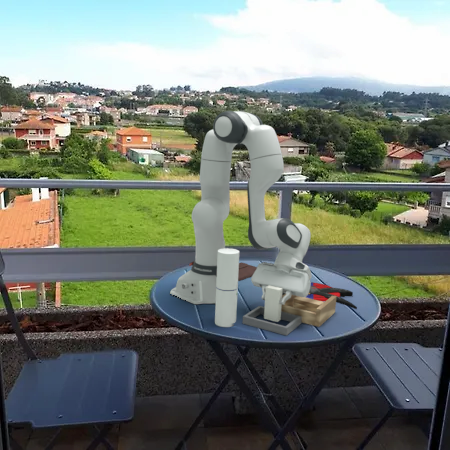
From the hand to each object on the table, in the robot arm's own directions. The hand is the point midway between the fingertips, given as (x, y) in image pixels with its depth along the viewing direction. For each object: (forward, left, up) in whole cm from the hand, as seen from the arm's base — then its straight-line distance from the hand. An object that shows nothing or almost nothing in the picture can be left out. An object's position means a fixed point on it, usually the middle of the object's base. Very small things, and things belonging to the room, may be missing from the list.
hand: (272, 301), depth 160 cm
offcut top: (+6, +18, -5) cm, 19 cm away
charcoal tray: (0, +1, -9) cm, 9 cm away
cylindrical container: (-14, -6, -9) cm, 18 cm away
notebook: (-38, +47, -10) cm, 61 cm away
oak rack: (+6, +16, -9) cm, 19 cm away
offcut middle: (+6, +18, -6) cm, 20 cm away
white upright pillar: (0, +1, -6) cm, 6 cm away
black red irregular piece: (+1, +38, -10) cm, 39 cm away
